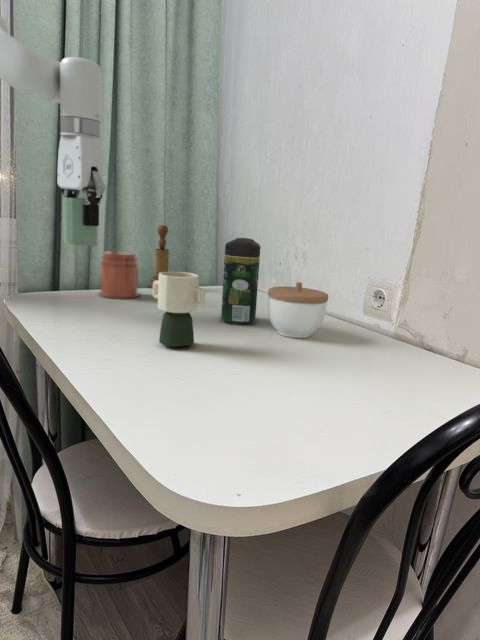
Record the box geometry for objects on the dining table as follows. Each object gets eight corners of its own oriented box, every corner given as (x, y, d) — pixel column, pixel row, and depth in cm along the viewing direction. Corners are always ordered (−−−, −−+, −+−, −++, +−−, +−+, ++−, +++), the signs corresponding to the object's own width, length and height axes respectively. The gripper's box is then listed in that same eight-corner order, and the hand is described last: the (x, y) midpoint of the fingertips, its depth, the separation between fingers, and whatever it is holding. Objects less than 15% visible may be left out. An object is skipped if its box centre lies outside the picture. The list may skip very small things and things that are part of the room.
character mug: (212, 346, 93) (216, 276, 90) (190, 355, 87) (194, 280, 83) (163, 336, 97) (165, 268, 94) (140, 343, 91) (141, 271, 88)
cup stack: (92, 293, 132) (92, 250, 129) (124, 290, 139) (125, 250, 136) (113, 300, 126) (113, 255, 123) (146, 297, 133) (146, 255, 130)
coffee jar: (223, 314, 121) (228, 235, 116) (256, 317, 121) (262, 238, 116) (218, 323, 111) (223, 237, 106) (253, 326, 111) (260, 241, 106)
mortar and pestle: (145, 287, 148) (146, 223, 143) (156, 284, 154) (158, 223, 149) (165, 290, 146) (167, 226, 141) (176, 287, 152) (178, 225, 147)
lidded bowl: (261, 325, 113) (266, 276, 110) (316, 328, 115) (322, 280, 112) (268, 339, 101) (273, 285, 98) (329, 343, 103) (336, 289, 100)
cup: (57, 241, 104) (56, 196, 102) (87, 241, 109) (87, 198, 107) (74, 245, 100) (73, 198, 98) (104, 245, 105) (105, 201, 103)
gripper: (41, 127, 101) (43, 218, 106) (86, 126, 91) (86, 227, 96) (76, 134, 107) (76, 220, 112) (122, 133, 96) (120, 229, 101)
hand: (81, 223), depth 104 cm, fingers closed on cup, 6 cm apart
